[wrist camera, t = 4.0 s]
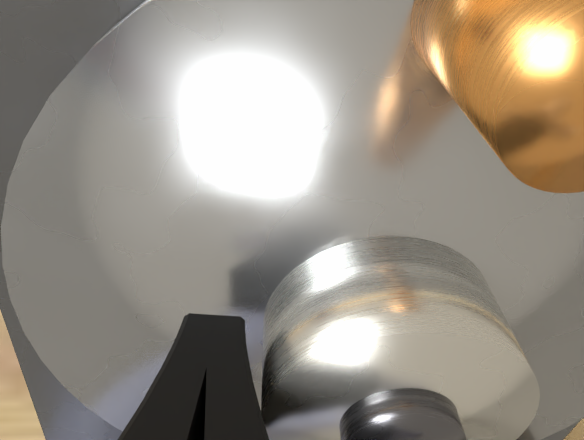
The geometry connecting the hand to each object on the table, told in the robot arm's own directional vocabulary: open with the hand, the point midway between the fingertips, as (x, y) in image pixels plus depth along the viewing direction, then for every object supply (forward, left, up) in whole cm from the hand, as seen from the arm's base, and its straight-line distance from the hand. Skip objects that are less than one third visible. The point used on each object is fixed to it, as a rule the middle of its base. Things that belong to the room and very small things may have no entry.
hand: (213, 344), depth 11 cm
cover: (0, -4, -1) cm, 4 cm away
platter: (0, -4, -2) cm, 4 cm away
